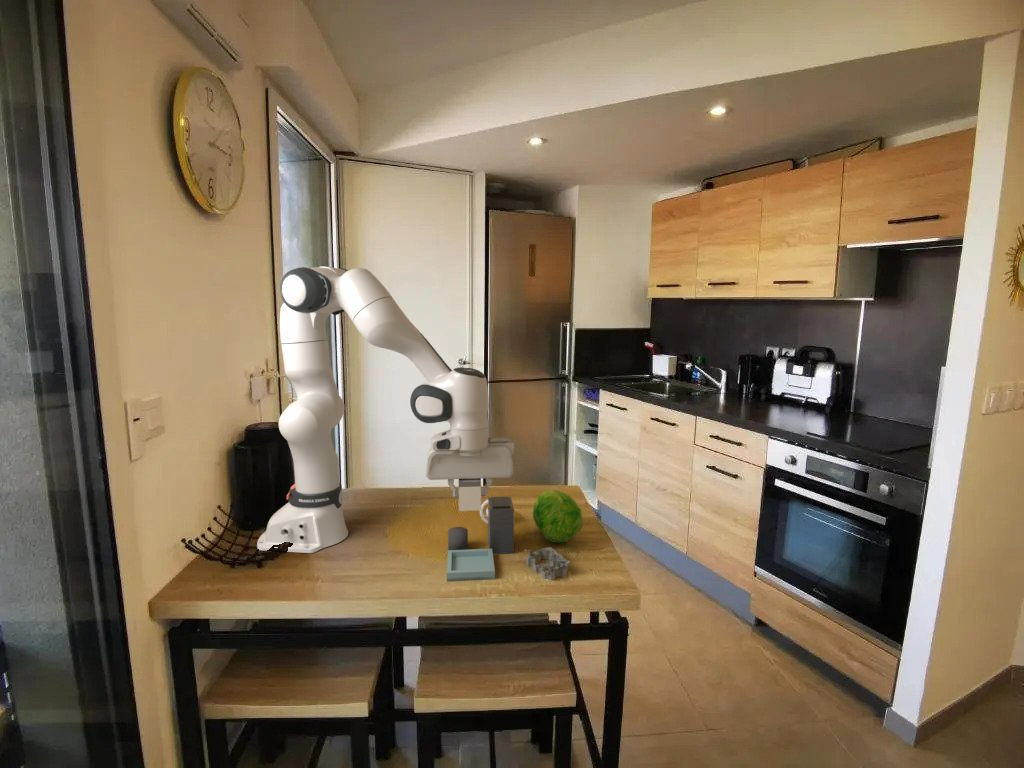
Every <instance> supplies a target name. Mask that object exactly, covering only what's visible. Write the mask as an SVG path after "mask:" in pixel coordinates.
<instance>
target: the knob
mask: <svg viewBox="0 0 1024 768" xmlns="http://www.w3.org/2000/svg"><path fill="white" fill-rule="evenodd" d="M468 537H469V530H468V528H466V527H463V526H454V527H451V528H449V529H448V531H447V541H448V544H447V545H448V547H447V548H448V550H469V549H468V548H469V544H468V543H469V541H468V540H469V538H468ZM448 550H447V551H448Z"/></svg>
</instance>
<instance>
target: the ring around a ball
mask: <svg viewBox="0 0 1024 768" xmlns="http://www.w3.org/2000/svg"><path fill="white" fill-rule="evenodd" d="M486 506H487V508H486V510H485V507H486ZM484 510H485V514H486V515H485V514H484ZM479 516H480V519H481V520H482V521H483V522H484V523H485V524H487V525H488V518H486V517H488V499H486V500H485V501H483V502H482V503H481V510H479Z"/></svg>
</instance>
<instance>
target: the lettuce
mask: <svg viewBox="0 0 1024 768" xmlns="http://www.w3.org/2000/svg"><path fill="white" fill-rule="evenodd" d="M532 517H533V520H534V524H535V525H536V527H537V529H538V530H539V531H540V533H541V534H542V535H543V537H544V538H545V539H546V540H548V541H550V542H552V543H558V544H560V543H564V542H567V541H569V540H570V539H572V538H574V537H575V536H576V535H577V534H579V532H581V530H582V527H583V524H584V521H583V514H582V509H581V507H580V506H579V505H578V504H577V502H576V501H575V500H574V499H573V498H572V497H571V496H570V495H569V494H567V493H565V492H563V491H560V490H555V489H549V490H545V491H543V492H541V493H540V494H539V495H537V497H536V500H535V502H534V505H533V509H532Z"/></svg>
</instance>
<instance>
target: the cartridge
mask: <svg viewBox="0 0 1024 768" xmlns="http://www.w3.org/2000/svg"><path fill="white" fill-rule="evenodd" d="M481 487H482V478H479V479H458V488H459V497H458V510H459V512H469V511H470V512H471V511H480V510H481V505H482V496H481Z"/></svg>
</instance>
